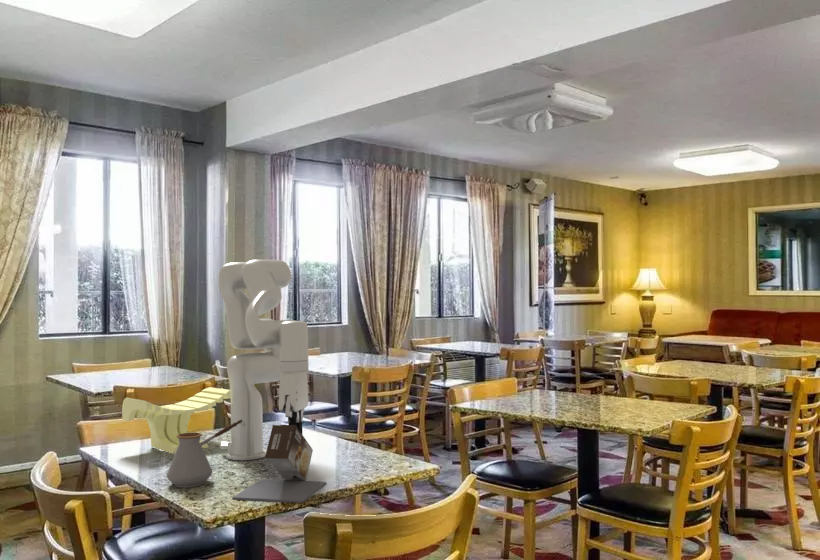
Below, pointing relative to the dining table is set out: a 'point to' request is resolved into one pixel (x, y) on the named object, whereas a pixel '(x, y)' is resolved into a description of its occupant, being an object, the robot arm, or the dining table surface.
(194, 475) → the coffee pot
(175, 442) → the slatted curved stool
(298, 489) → the mat
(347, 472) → the dining table surface
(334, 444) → the dining table surface
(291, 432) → the coffee box
